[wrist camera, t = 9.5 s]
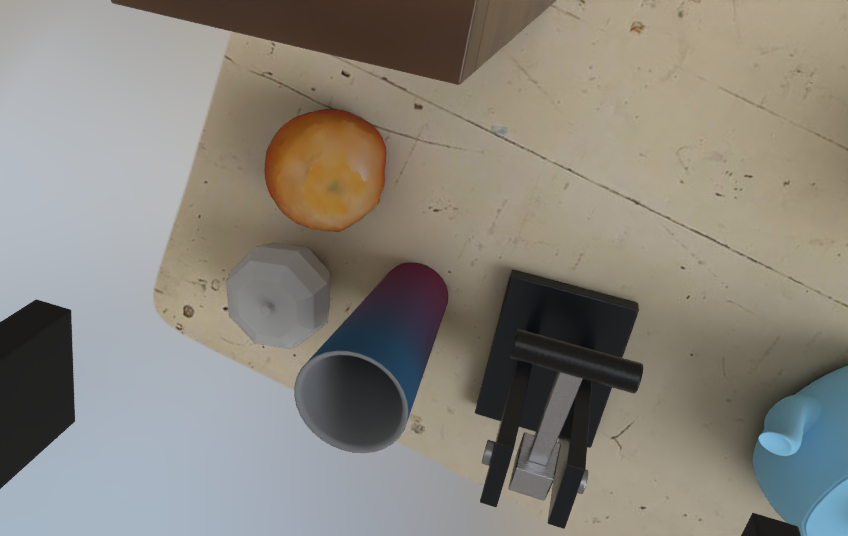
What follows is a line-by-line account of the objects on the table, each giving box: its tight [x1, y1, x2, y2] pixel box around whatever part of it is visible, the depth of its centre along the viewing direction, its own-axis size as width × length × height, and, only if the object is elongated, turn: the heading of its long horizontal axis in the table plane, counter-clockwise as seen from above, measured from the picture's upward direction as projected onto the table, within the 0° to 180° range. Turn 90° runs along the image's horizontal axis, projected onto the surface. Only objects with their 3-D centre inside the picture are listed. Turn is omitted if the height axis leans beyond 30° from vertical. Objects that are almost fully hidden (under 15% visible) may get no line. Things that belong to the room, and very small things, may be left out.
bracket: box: [475, 270, 639, 529], centre depth 49 cm, size 12×9×15 cm
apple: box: [227, 243, 330, 349], centre depth 55 cm, size 8×8×7 cm
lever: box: [509, 329, 643, 500], centre depth 40 cm, size 13×6×2 cm, turn 169°
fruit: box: [265, 109, 386, 232], centre depth 51 cm, size 8×8×8 cm
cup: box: [295, 263, 448, 453], centre depth 50 cm, size 7×7×15 cm
